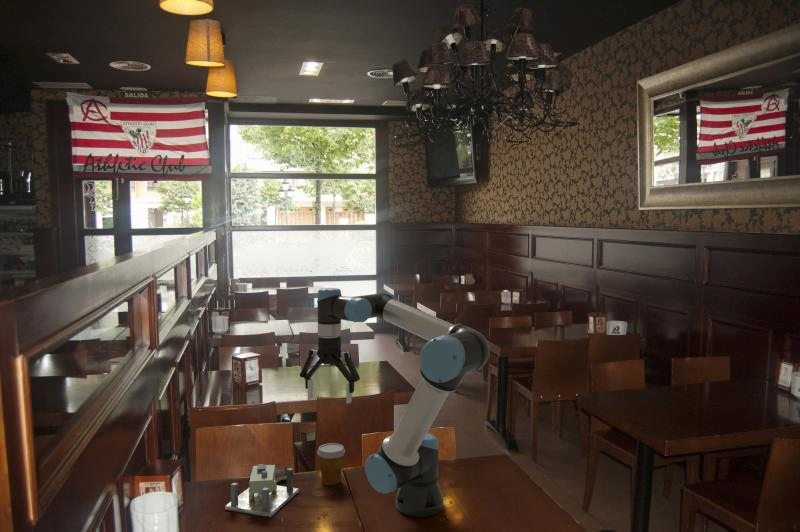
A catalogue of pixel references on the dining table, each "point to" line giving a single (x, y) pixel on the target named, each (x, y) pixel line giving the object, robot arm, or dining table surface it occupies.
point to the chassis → (262, 498)
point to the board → (262, 478)
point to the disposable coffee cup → (331, 462)
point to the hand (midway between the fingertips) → (329, 400)
